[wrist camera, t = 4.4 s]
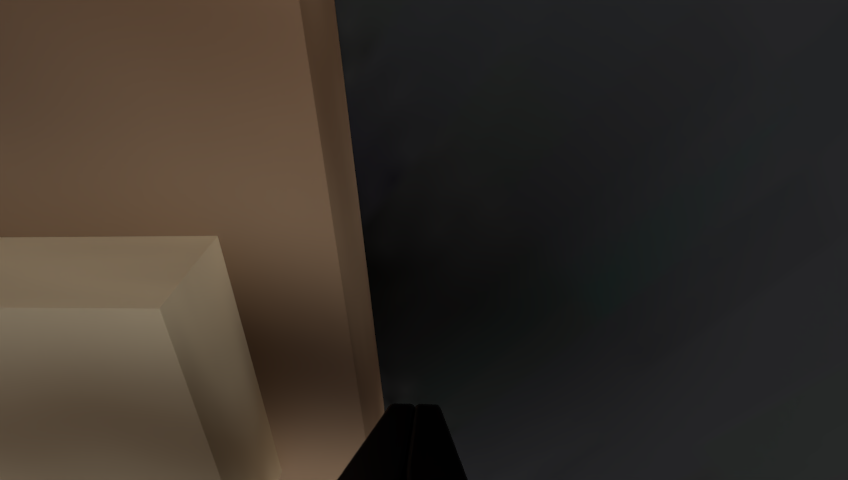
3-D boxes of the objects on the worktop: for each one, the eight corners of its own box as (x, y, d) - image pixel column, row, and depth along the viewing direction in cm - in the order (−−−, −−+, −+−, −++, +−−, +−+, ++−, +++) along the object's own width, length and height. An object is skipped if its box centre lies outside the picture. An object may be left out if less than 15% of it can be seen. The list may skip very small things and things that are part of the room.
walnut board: (400, 545, 17) (392, 617, 15) (32, 529, 18) (-14, 594, 16) (309, -204, 8) (263, -238, 6) (-420, -146, 9) (-633, -161, 7)
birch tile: (281, 470, 12) (250, 561, 11) (-50, 459, 13) (-129, 542, 11) (217, 235, 9) (158, 308, 8) (-208, 238, 10) (-350, 306, 8)
